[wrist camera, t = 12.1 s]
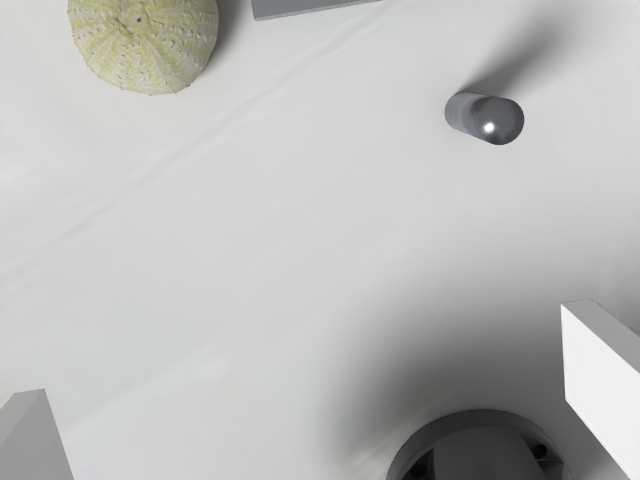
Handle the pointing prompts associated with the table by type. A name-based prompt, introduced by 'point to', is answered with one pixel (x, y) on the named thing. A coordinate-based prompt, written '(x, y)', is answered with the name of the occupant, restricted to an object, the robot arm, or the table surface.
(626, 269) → the table surface
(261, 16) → the tray
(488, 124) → the grey rounded cylinder
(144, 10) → the sea urchin shell
